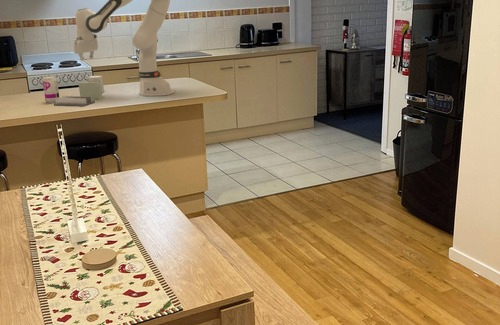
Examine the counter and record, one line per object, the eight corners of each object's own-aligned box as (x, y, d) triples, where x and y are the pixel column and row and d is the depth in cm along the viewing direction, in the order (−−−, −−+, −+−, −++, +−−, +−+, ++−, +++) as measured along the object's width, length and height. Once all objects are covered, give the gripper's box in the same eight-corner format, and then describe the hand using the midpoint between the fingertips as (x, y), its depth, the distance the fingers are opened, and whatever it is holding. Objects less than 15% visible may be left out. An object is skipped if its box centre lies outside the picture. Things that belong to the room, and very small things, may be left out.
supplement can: (51, 103, 322) (48, 78, 317) (43, 102, 326) (39, 78, 321) (62, 101, 328) (59, 76, 324) (54, 100, 332) (50, 76, 328)
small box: (104, 91, 356) (102, 75, 353) (101, 93, 351) (99, 77, 348) (92, 91, 357) (90, 75, 354) (89, 93, 352) (87, 77, 349)
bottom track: (94, 102, 321) (94, 95, 320) (83, 106, 310) (82, 99, 309) (66, 101, 327) (65, 95, 325) (53, 105, 316) (52, 98, 314)
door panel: (102, 98, 334) (100, 82, 331) (100, 99, 331) (98, 82, 328) (83, 97, 338) (81, 81, 335) (80, 98, 335) (78, 82, 332)
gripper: (79, 38, 315) (81, 61, 319) (98, 35, 333) (100, 57, 337) (70, 37, 316) (72, 61, 321) (89, 34, 335) (91, 57, 339)
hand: (87, 59), depth 329 cm, fingers open, 8 cm apart
